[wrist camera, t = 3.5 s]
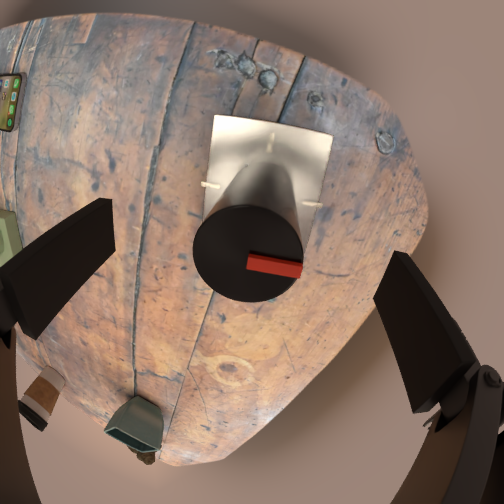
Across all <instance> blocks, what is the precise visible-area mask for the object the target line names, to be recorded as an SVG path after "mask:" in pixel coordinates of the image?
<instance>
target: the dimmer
mask: <svg viewBox="0 0 504 504" xmlns="http://www.w3.org/2000/svg"><path fill="white" fill-rule="evenodd" d="M193 258H194V263H195V266H196V268H197V271H198V273H199V274H200V276H201V277H202V279H203V280H204V281H205V283H206V284H207V285H208V286H210V287H211V288H212V289H213V290H214V291H216V292H217V293H219V294H221V295H223V296H225V297H227V298H230V299H232V300H236V301H241V302H262V301H267V300H270V299H273V298H275V297H277V296H279V295H281V294H283V293H284V292H285V291H287V290H288V289H289V288H290V287H291V286H292V285H293V284H294V282H295V281H296V280H297V278H298V279H299V278H300V276H301V272H302V269H303V259H304V253H303V245H302V238H301V232H300V225H299V219H298V213H297V207H296V201H295V195H294V189H293V185H292V182H291V180H290V178H289V177H288V175H287V174H286V173H285V172H284V171H283V170H282V169H280V168H279V167H277V166H275V165H273V164H269V163H253V164H250V165H247V166H245V167H244V168H242V169H241V170H240V171H239V172H238V173H237V174H236V175H235V177H234V178H233V179H232V181H231V182H230V184H229V185H228V186H227V188H226V189H225V191H224V192H223V194H222V195H221V196H220V198H219V199H218V201H217V202H216V204H215V205H214V206H213V208H212V209H211V211H210V212H209V214H208V215H207V217H206V218H205V220H204V221H203V223H202V224H201V226H200V227H199V229H198V230H197V233H196V235H195V238H194V241H193Z"/></svg>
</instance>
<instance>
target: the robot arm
mask: <svg viewBox="0 0 504 504" xmlns="http://www.w3.org/2000/svg"><path fill="white" fill-rule="evenodd" d="M115 251H116V249H115V239H114V226H113V209H112V199H106V198H98V199H96V200H95V201H93V202H91V203H90V204H88V205H86V206H85V207H83V208H82V209H80V210H78V211H77V212H75V213H74V214H72V215H70V216H69V217H67V218H66V219H64V220H63V221H61V222H60V223H58V224H57V225H55V226H54V227H52V228H51V229H50V230H48V231H47V232H45V233H44V234H42V235H41V236H40V237H38V238H37V239H36V240H34V241H33V242H32V243H30V244H29V245H28V246H26V247H25V248H24V249H22V250H21V251H20V252H18V253H17V254H16V255H15V256H13V257H12V258H11V259H10V260H8V261H7V262H6V263H5V264H4V265H2V266H1V267H0V504H41V501H40V499H39V496H38V493H37V490H36V487H35V484H34V481H33V477H32V474H31V471H30V467H29V463H28V459H27V455H26V450H25V446H24V441H23V436H22V430H21V424H20V416H19V408H18V399H17V386H16V330H15V328H14V325H15V324H16V322H17V321H18V323H19V325H20V327H21V329H22V331H23V333H24V334H26V335H27V336H29V337H31V338H33V339H34V340H37V338H38V337H39V336H40V335H41V333H42V332H43V331H44V330H45V328H46V327H47V326H48V325H49V323H50V322H51V321H52V320H53V318H54V317H55V316H56V315H57V314H58V312H59V311H60V310H61V309H62V308H63V307H64V305H65V304H66V303H67V302H68V301H69V300H70V299H71V297H72V296H73V295H74V294H75V293H76V292H77V291H78V290H79V289H80V287H81V286H82V285H83V284H84V283H85V282H86V281H87V280H88V279H89V278H90V277H91V276H92V275H93V273H94V272H95V271H96V270H97V269H98V268H99V267H100V266H101V265H102V264H103V263H104V262H105V261H106V260H107V259H108V258H109V257H110V256H111V255H112V254H113V253H114V252H115ZM373 300H374V302H375V305H376V307H377V309H378V312H379V314H380V317H381V319H382V322H383V325H384V327H385V330H386V332H387V335H388V338H389V340H390V343H391V346H392V349H393V351H394V354H395V357H396V360H397V363H398V366H399V369H400V372H401V375H402V378H403V382H404V385H405V388H406V391H407V395H408V398H409V402H410V405H411V409H412V412H413V413H422V412H428V411H430V410H431V409H432V408H433V407H434V406H435V405H436V404H437V403H438V402H439V403H440V406H441V409H440V410H438V411H437V412H436V413H435V414H434V415H433V416H432V417H431V418H429V419H428V420H427V421H426V422H425V423H424V425H423V426H424V427H425V426H427V425H428V424H429V423H430V422H432V424H431V426H430V427H429V428H428V429H429V432H428V434H427V436H426V438H425V441H424V443H423V445H422V448H421V449H420V452H419V454H418V456H417V458H416V460H415V462H414V464H413V466H412V468H411V470H410V471H409V473H408V475H407V477H406V479H405V480H404V482H403V484H402V486H401V487H400V489H399V491H398V492H397V494H396V496H395V497H394V499H393V500H392V502H391V503H390V504H504V431H502V432H501V433H500V434H498V430H499V427H500V426H502V425H503V424H504V382H502V380H501V377H500V376H499V374H498V373H497V371H496V370H494V368H492V367H490V366H489V365H482V366H481V365H480V363H479V361H478V359H477V358H476V355H475V353H474V352H473V350H472V348H471V346H470V345H469V343H468V341H467V340H466V337H465V336H464V334H463V333H461V331H462V330H461V329H460V327H459V325H458V324H457V322H456V321H455V320H454V319H453V318H452V317H451V315H450V314H449V312H448V311H447V309H446V307H445V306H444V304H443V303H442V301H441V300H440V299H439V297H438V295H437V294H436V292H435V291H434V289H433V288H432V287H431V285H430V284H429V282H428V281H427V280H426V278H425V277H424V275H423V274H422V273H421V271H420V270H419V268H418V267H417V266H416V264H415V263H414V262H413V260H412V259H411V258H410V256H409V255H408V254H407V253H403V252H399V251H395V250H394V252H393V254H392V257H391V259H390V262H389V264H388V266H387V269H386V271H385V273H384V276H383V278H382V280H381V282H380V284H379V287H378V289H377V291H376V293H375V295H374V297H373Z"/></svg>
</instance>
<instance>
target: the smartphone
mask: <svg viewBox="0 0 504 504" xmlns="http://www.w3.org/2000/svg"><path fill="white" fill-rule="evenodd" d="M26 81H27V77H26V74H25V73H18V74H2V75H0V130H1V131H6V132H13V131H15V130H16V129H17V128H18V125H19V119H20V112H21V106H22V100H23V95H24V90H25V86H26Z"/></svg>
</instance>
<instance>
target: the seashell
mask: <svg viewBox="0 0 504 504" xmlns="http://www.w3.org/2000/svg"><path fill="white" fill-rule="evenodd" d="M127 446H128V445H127ZM161 447H162V445H161ZM161 447H160V449H161ZM128 448H129V449H130V450H131V451H132V452H134V453H136V454H137V458H138V459H139V460H141V461H143V462H144V463H145V464H146V465H149V464H152V463H153V462H155V452H157V451H151V452H140V451H138V450H136V449H134V448H132V447H130V446H128Z"/></svg>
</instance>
